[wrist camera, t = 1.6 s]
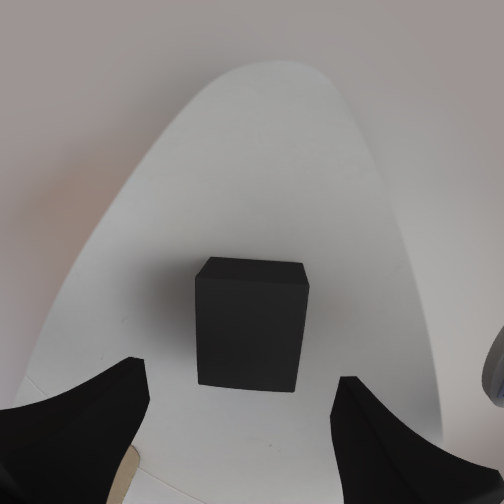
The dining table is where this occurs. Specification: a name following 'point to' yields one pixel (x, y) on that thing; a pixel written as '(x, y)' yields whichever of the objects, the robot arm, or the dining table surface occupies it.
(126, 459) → the candle
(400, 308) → the dining table surface
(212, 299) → the small block
